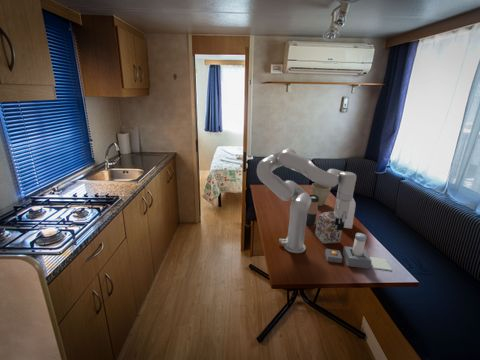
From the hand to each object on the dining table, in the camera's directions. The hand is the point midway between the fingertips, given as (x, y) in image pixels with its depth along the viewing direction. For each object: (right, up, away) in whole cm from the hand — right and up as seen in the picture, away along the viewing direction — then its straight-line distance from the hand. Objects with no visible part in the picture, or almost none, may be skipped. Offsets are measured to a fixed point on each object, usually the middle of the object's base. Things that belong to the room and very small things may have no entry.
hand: (338, 227), depth 139 cm
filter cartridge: (+11, -19, +5) cm, 23 cm away
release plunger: (-1, -18, +6) cm, 19 cm away
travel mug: (-4, -5, +45) cm, 45 cm away
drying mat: (+23, -21, +3) cm, 31 cm away
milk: (+20, -6, +47) cm, 51 cm away
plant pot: (+13, +5, +78) cm, 79 cm away
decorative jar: (+2, -12, +26) cm, 29 cm away
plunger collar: (-1, -18, +6) cm, 19 cm away
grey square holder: (+11, -19, +5) cm, 23 cm away
